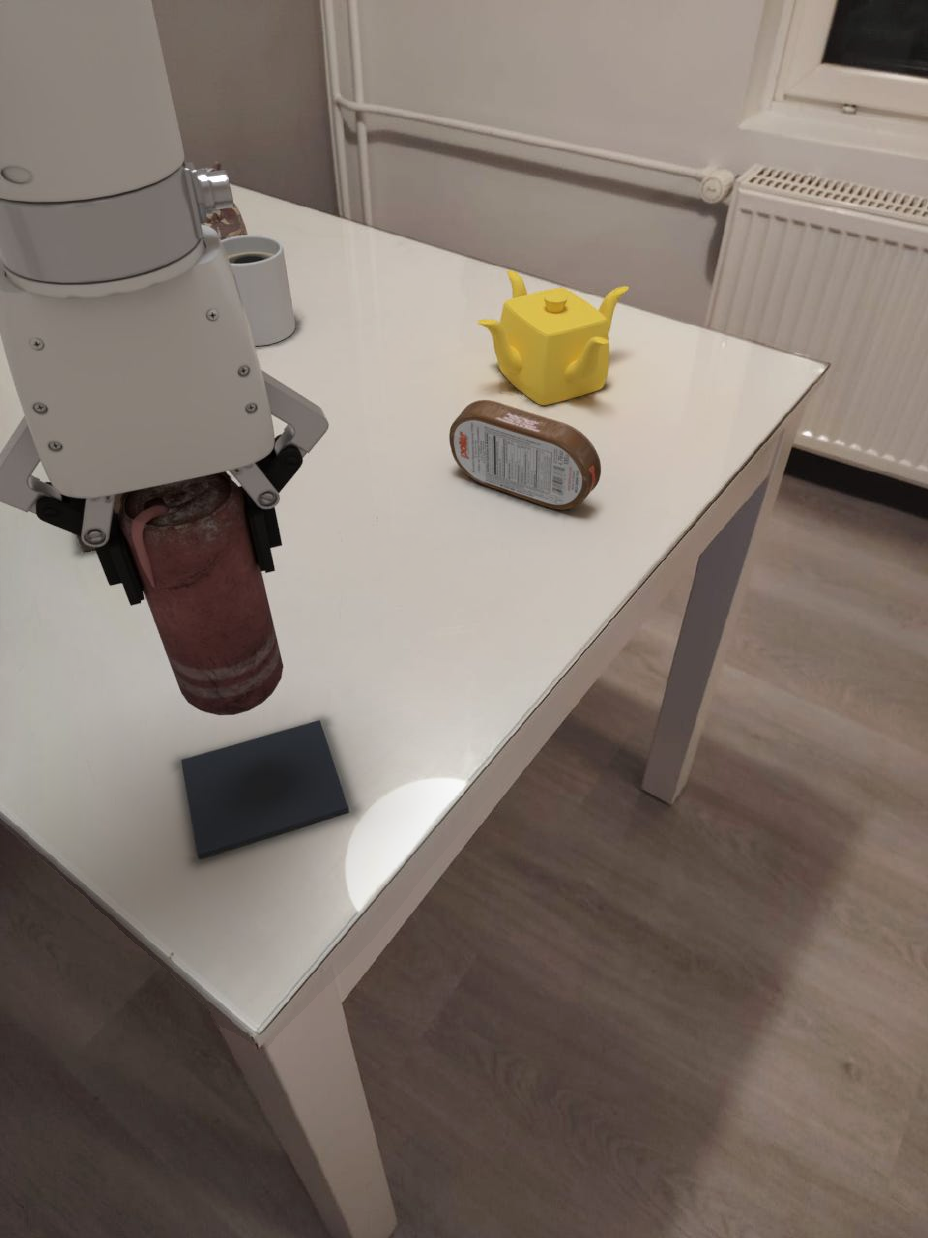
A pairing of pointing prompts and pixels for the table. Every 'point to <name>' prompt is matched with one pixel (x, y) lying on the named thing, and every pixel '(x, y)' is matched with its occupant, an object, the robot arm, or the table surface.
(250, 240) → the mug
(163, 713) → the table surface
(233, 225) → the figurine
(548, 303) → the teapot
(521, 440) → the tin
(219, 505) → the can
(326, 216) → the table surface
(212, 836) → the mat
